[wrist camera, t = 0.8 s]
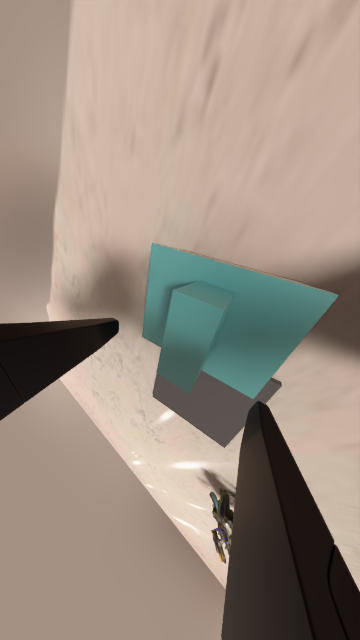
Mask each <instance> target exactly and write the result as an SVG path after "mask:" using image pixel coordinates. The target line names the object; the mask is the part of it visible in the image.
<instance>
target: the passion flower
mask: <svg viewBox="0 0 360 640" xmlns="http://www.w3.org/2000/svg"><path fill="white" fill-rule="evenodd" d="M220 494H221V498H220V500H219V501H218V500H217V497H216V495H215V494H214V493H213V492H211V493H210V497H211V499H212V501H213V503H214V504H213V517H214V518H215V519H216V521H217V522H218V528H216V529H214V530H211V531H212V533H213V540H214V543H215V546H216V551H217V552H218V553H219V556H220V559H221V562H224V563H225V564H226V558H225V555H224V552H223V548H222V544H223V543H224V542H225V544H226V546H225V549H227V550H228V554H229V555H230V545H231V535H232V525H233V515H234V512H233V511H232V510H230V506H229V496H228V494H227V492H226V491H222V489H221V488H220ZM216 530H217V531H218V532H219V533H218V535H220V537H221V539H219V538H218V536H217V531H216Z"/></svg>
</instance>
